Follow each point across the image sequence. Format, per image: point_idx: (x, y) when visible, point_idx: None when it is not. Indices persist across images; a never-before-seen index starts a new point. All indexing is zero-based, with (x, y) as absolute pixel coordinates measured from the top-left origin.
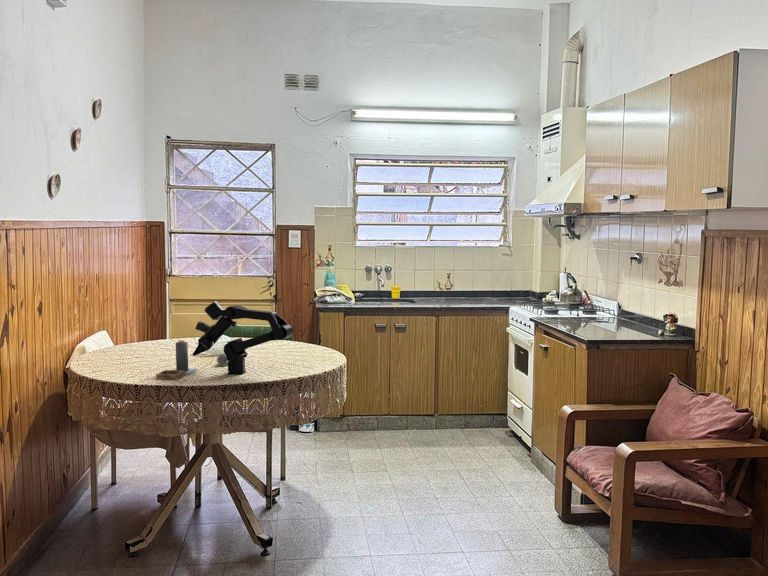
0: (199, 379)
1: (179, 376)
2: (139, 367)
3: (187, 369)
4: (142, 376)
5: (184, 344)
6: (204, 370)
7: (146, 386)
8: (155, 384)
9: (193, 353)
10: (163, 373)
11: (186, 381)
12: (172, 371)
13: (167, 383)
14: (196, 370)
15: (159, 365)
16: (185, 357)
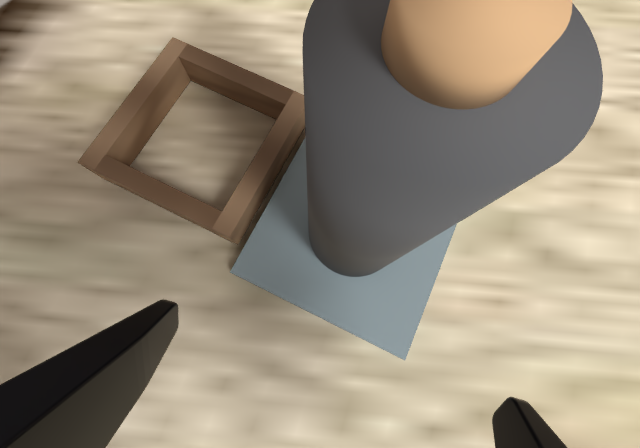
0: (28, 340)
1: (132, 191)
2: (576, 2)
3: (328, 266)
4: (300, 2)
5: (313, 116)
6: (382, 421)
7: (4, 5)
8: (31, 50)
9: (141, 316)
10: (242, 91)
11: (11, 235)
12: (263, 147)
13: (19, 113)
14: (381, 348)
15: (631, 107)
16: (319, 223)
